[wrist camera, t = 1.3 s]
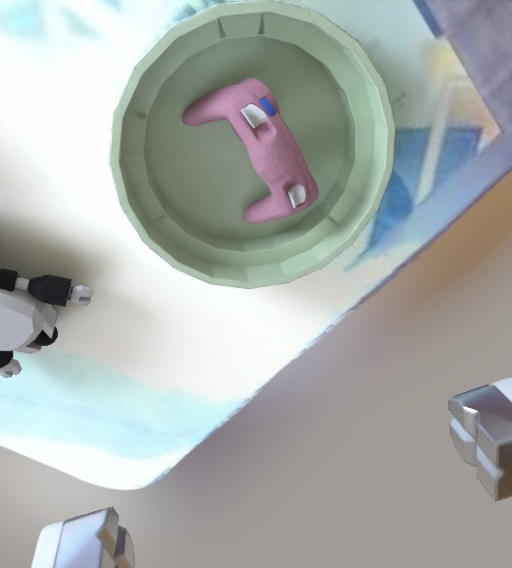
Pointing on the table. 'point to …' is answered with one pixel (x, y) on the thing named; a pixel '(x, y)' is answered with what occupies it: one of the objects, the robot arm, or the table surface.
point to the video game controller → (261, 146)
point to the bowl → (233, 153)
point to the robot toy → (32, 313)
